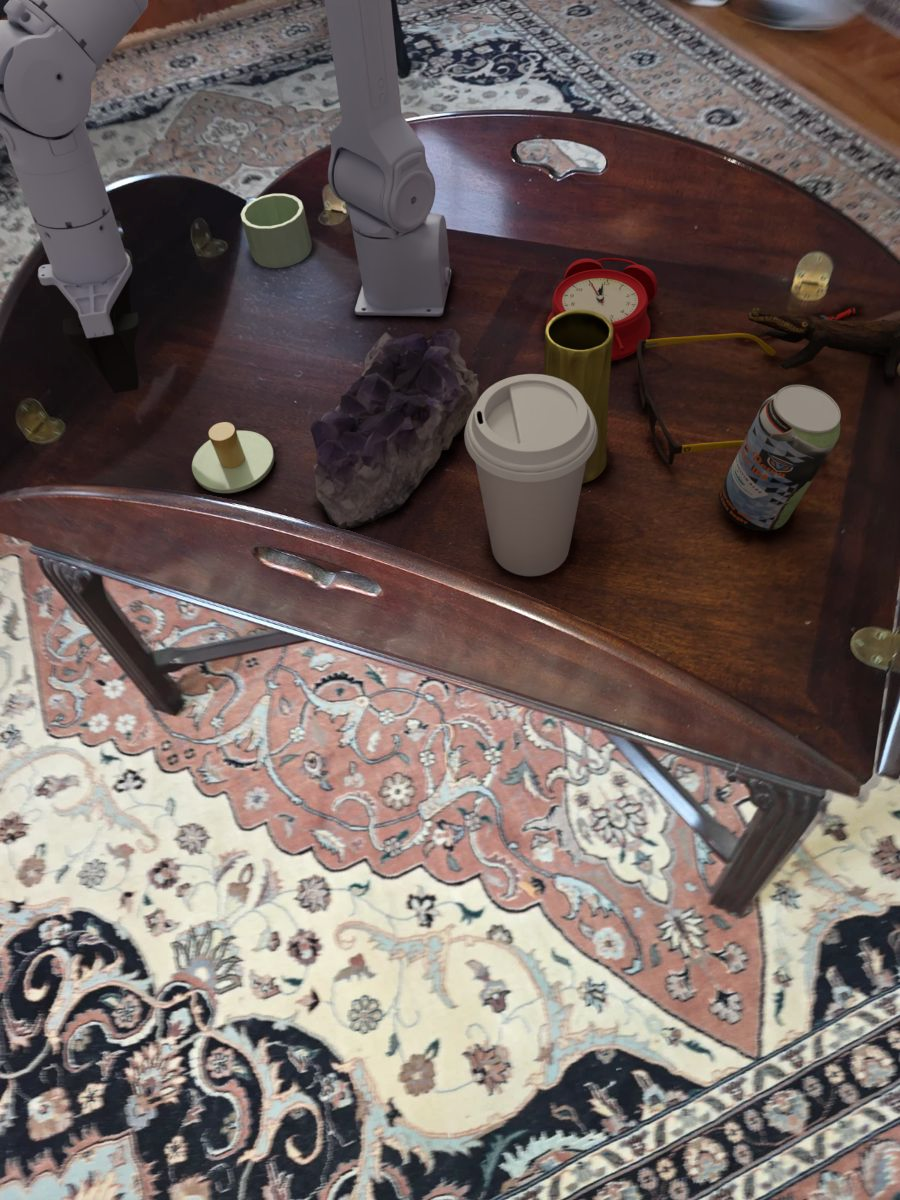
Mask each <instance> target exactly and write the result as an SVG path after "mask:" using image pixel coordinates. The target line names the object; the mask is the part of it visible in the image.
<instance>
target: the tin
mask: <svg viewBox="0 0 900 1200" xmlns="http://www.w3.org/2000/svg"><path fill="white" fill-rule="evenodd" d="M240 218H241V223H242V227H243V230H244V233H245V236H246V239H247V243H248V244H247V245H248V247H249V251H250V254H251V257H252V260H253V261H254V262H255V263H256V264H258V265H259V266H261V267H265V268H269V269H282V268H287V267H291V266H294V265H296V264H299V263H300V262H302V261H303V260H305V259H306V258H307V257H308V256H309V255H310V253H311V251H312V248H313V245H312V238H311V234H310V229H309V226H308V220H307V216H306V211H305V208H304V203H303V201H302V200H301V199H299V198H298V197H297V196H296V195H292V194H288V193H270V194H265V195H261V196H259V197H257V198H255V199H252V200H251V201H249V202H248V203H247V204H246V205H245V206H243V208H242V210H241V212H240Z"/></svg>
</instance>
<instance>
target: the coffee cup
mask: <svg viewBox="0 0 900 1200" xmlns="http://www.w3.org/2000/svg"><path fill="white" fill-rule="evenodd" d="M478 398H479V400H478V402H477V404H476V405H475V407H474V408H473V410H472V411H471V413H470V415H469V418H468V420H467V422H466V423H465V427H464V434H463V436H464V445H465V448H466V451H467V452H468V454H469V456H470V457H471V458H472V460H473V461H474V463H475V468H476V473H477V478H478V483H479V487H480V493H481V499H482V504H483V509H484V510H483V511H484V514H485V519H486V524H487V531H488V534H489V535H488V536H489V540H490V545H491V546H490V547H491V551H492V555H493V557H494V559H495V561H496V562H497V564H499V565H500V567H502V568H503V569H504V570H506V571H507V572H510V573H512V574H514V575H517V576H523V577H539V576H543V575H546V574H549V573H551V572H553V571H555V570H556V569H558V568H560V566H561V565H563V563H564V562H565V561H566V559H567V557H568V556H569V551H570V546H571V542H572V538H573V537H572V536H573V532H574V526H575V523H576V522H575V521H576V516H577V511H578V507H579V502H580V501H579V500H580V495H581V491H582V485H583V484H582V481H583V476H584V471H585V466H586V461H587V459H588V458H589V457H590V455H591V454H592V452H593V451H594V449H595V446H596V443H597V438H598V430H597V425H596V421H595V418H594V415H593V413H592V411H591V409H590V407H589V406H588V404H587V403H586V402H585V400H584V398H583V396H582V395H581V393H580V392H579V391H578V390H577V389H576V388H575V387H573V386H572V385H571V384H569V383H567V382H565V381H563V380H561V379H559V378H556V377H552V376H548V375H544V374H542V373H541V374H539V373H525V374H518V375H513V376H510V377H507V378H504V379H502V380H499V381H497V382H495V383H494V384H492V385H491V386H489V387H488V388H487V389H486V390H484V392H483V393H482V394H481V395H480V396H479V397H478Z"/></svg>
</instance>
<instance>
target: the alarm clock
mask: <svg viewBox="0 0 900 1200" xmlns="http://www.w3.org/2000/svg"><path fill="white" fill-rule="evenodd" d="M605 261H606V262H607V261H608V262H609V261H610V262H611V261H613V262H620V263H621V262H622V263H627V264H631V265H628V266H626V267H625V268H624V269H622V271H619V270H613V269H604V267H603V265H602V264H601V262H605ZM563 279H564V280H562V281H561V282H560V283H559V284H558V286H557V287H556V288H555V291H554V293H553V296H552V302H551V303H552V309H551V312H550V313H549V315H548V316H547V319H546V324H545V327H546V326H547V324H548V323H549V321H550V320H551V319H552V318H554V317H555V316H556V315H558V314H560V313H562V312H565V311H568V310H576V309H583V310H590V311H594V312H597V313H599V314H601V315H603V316H604V317H606V318H607V319H608V320H609V321H610V323H611V324H612V326H613V345H612V356H611V362H613V361H617V360H621V359H624V358H626V357H629V356H631V355H633V354H634V353H637V348H638V342H639V340H649V337H650V333H651V329H652V328H651V325H652V324H651V320H650V317H649V315H648V313H647V310H648V305H649V304H651V303H652V302H653V300H654V299H655V297H656V296H657V293H658V286H659V285H658V280H657V277H656V275H655V273H654V271H652V269H650V268H648V267H647V266H645V265H642V264H638V263H636V262H634V261H632V260H628V259H625V258H616V257H604V258H599V259H597V260H596V259H592V258H580V259H577V260H575V261H573V262H572V263H571V264H570V265H569V266H567V268H566V270H565V274H564V278H563Z"/></svg>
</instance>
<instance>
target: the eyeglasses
mask: <svg viewBox="0 0 900 1200" xmlns="http://www.w3.org/2000/svg"><path fill="white" fill-rule="evenodd" d="M735 338H739V339H740V338H742V339H747V340H748V339H751V340H753V341H752V342H755V343H757V344H758V345H759V347H761V349H762V350H763V351H764V352H765V353H766V354H767V355H768V356H771V357H773V356H776V353H777V352H776V350H775V348H774V347H772V346H770V345H769V344H768V343H766V342H765V341H764V340H763V339H762V340H761V339H759V338H758V336H756V335H753V334H751V333H744V332H742V333H741V332H736V333H720V334H703V335H690V336H676V337H675V336H674V337H661V338H651V339H647V340H639V342H638V348H637V351H636V359H637V375H638V377H637V378H638V392H639V397H640V398H639V399H640V403H641V405H642V409H643V410H644V409H647V412H648V422H649V429H650V433H651V437H652V440H653V443H654V445H655V448H656V450H657V453H658V455H659V456H660V457H661V459H662V460H663V461H664V463H665V464H666V465H668V466H670V465H673V463H674V459H675V455H678V454H679V455H680V454H688V453H695V452H705V451H709V450H717V449H726V448H736V447H741V446H742V444H743V442H744V440H745V439H743V440H728V441H727V440H726V441H712V442H702V443H700V442H699V443H691V444H681V445H680V444H678V443H676V441H675V440H674V438H673V437H672V435H671V433H669V431H668V429H667V427H666V425H665V423H664V422H663V419H662V417H661V414H660V412H659V410H658V408H657V405H656V403H655V401H654V398H653V397H651V395H650V388H649V382H648V378H647V374H646V371H645V366H644V363H643V357H642V350H643V349H649V348H654V347H655V348H656V347H664V346H665V347H666V346H669V345H677V344H678V345H679V344H687V343H697V342H707V341H717V340H727V339H735ZM657 423H658V425H659V427H660V429H661V431H662V433H663V435H664V437H665V439H666V441H667V443H668V444H667V445H668V457H667V456H666V455H665V453H664V452H663V449H662V448H661V445H660V442H659V440H658V437H657V433H656V425H657Z"/></svg>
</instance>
